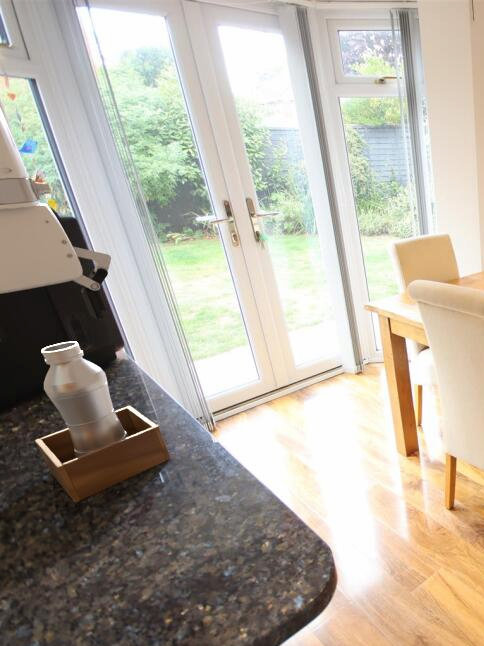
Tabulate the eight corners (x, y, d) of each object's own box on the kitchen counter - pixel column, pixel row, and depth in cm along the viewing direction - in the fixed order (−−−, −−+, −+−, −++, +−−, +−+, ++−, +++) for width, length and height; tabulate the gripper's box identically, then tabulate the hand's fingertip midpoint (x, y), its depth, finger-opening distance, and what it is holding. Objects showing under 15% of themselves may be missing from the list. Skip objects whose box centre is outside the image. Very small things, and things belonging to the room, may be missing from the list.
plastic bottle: (81, 466, 71) (25, 348, 63) (136, 447, 75) (89, 334, 68) (85, 486, 67) (25, 361, 59) (142, 464, 71) (93, 345, 63)
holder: (51, 473, 70) (34, 440, 67) (142, 436, 78) (129, 405, 76) (75, 503, 63) (57, 467, 61) (171, 458, 72) (158, 426, 70)
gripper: (75, 189, 64) (120, 306, 71) (-124, 203, 51) (-46, 344, 58) (93, 190, 60) (139, 313, 67) (-119, 204, 47) (-36, 356, 54)
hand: (53, 328), depth 62 cm, fingers open, 9 cm apart
